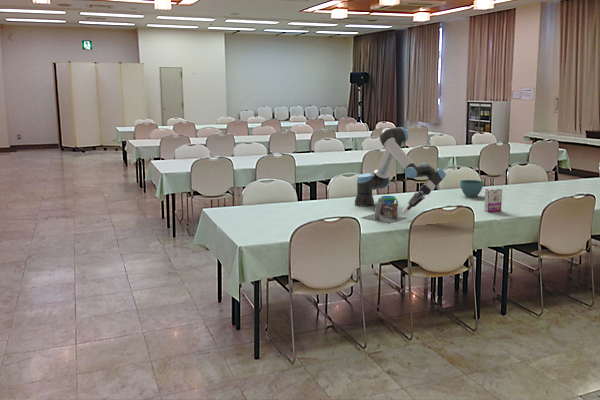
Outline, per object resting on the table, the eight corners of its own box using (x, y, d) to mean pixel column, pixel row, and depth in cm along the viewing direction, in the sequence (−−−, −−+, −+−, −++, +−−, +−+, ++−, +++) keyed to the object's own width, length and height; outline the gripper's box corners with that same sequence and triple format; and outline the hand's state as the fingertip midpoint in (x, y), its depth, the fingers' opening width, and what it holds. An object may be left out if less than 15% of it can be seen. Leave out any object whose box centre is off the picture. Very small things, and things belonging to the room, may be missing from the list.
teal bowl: (455, 195, 477) (455, 180, 474) (474, 193, 482) (474, 179, 480) (467, 199, 460) (468, 184, 458) (487, 197, 465) (488, 182, 463)
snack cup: (374, 210, 423) (375, 196, 421) (383, 207, 431) (383, 194, 429) (392, 213, 413) (393, 199, 411) (400, 210, 420) (401, 197, 418)
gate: (381, 214, 405) (382, 200, 403) (384, 214, 406) (384, 200, 404) (394, 218, 393) (394, 203, 391) (397, 218, 394) (397, 203, 392)
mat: (361, 217, 399) (361, 217, 399) (378, 213, 413) (378, 212, 413) (389, 223, 383) (389, 222, 383) (406, 218, 397) (406, 217, 397)
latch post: (375, 219, 395) (375, 202, 393) (379, 219, 395) (379, 202, 392) (374, 220, 390) (375, 203, 388) (379, 220, 390) (379, 203, 387)
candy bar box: (497, 210, 420) (498, 187, 417) (501, 211, 415) (502, 189, 412) (483, 211, 417) (485, 188, 414) (487, 212, 412) (489, 190, 409)
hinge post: (377, 214, 410) (378, 197, 408) (384, 214, 410) (385, 197, 407) (377, 215, 405) (378, 198, 403) (385, 215, 405) (385, 199, 402)
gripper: (434, 192, 389) (410, 218, 389) (427, 189, 402) (403, 214, 402) (427, 185, 387) (403, 210, 387) (420, 182, 400) (396, 207, 400)
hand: (403, 212), depth 395 cm, fingers closed
